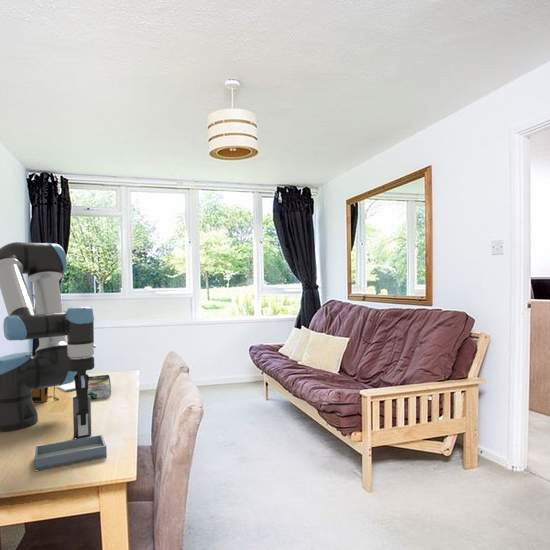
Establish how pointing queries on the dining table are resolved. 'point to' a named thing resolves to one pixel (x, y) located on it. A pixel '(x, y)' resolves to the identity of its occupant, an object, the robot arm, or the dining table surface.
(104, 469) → the dining table surface
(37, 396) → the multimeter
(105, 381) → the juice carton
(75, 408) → the cell
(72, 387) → the external hard drive
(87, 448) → the trough
